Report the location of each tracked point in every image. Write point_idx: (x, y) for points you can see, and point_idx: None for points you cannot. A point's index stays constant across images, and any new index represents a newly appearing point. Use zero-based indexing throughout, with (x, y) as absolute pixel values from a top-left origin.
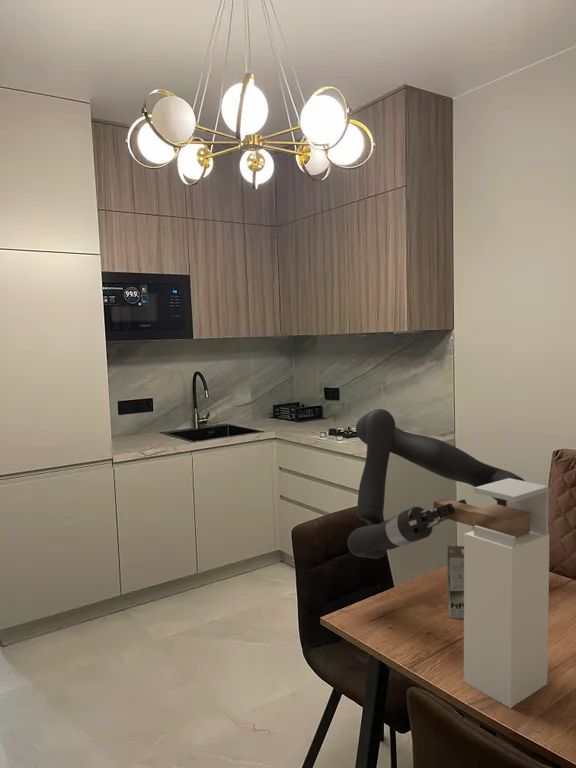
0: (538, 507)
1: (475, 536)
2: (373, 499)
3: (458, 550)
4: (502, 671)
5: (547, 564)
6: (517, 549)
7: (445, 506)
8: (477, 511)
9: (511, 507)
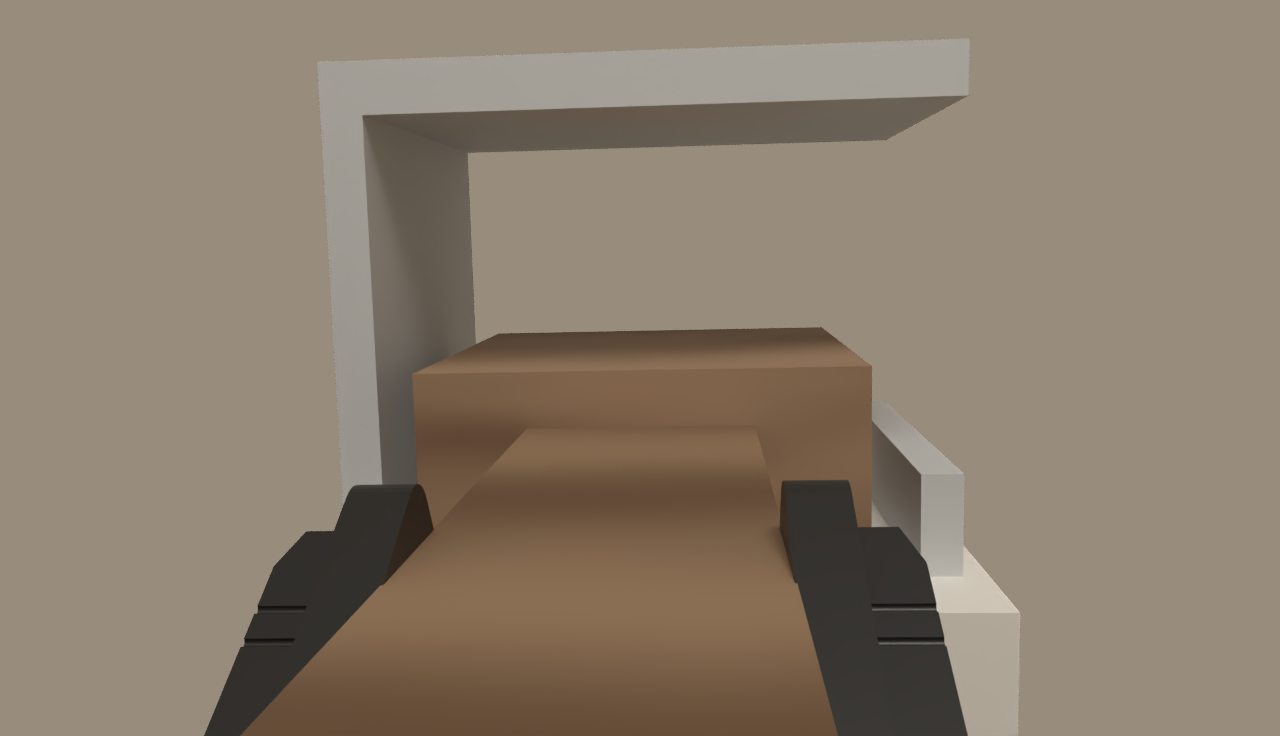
0: (460, 288)
1: (963, 568)
2: None
3: None
4: None
5: None
6: None
7: (857, 581)
8: (830, 362)
9: (394, 371)
